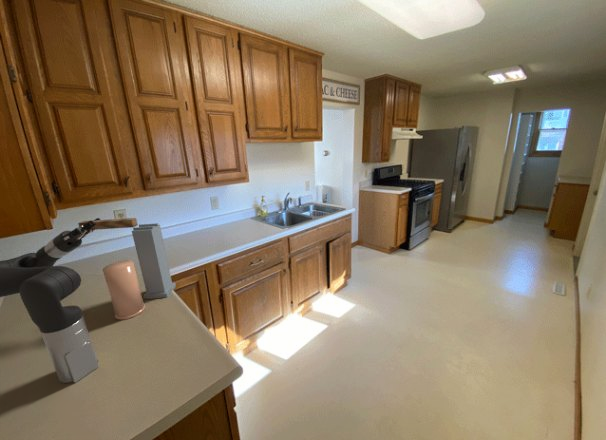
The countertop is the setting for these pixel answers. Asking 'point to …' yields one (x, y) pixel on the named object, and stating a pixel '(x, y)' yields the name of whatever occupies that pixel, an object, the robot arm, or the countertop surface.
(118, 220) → the brown wooden bar
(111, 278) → the crock
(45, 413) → the countertop surface
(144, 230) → the tall gray pillar
